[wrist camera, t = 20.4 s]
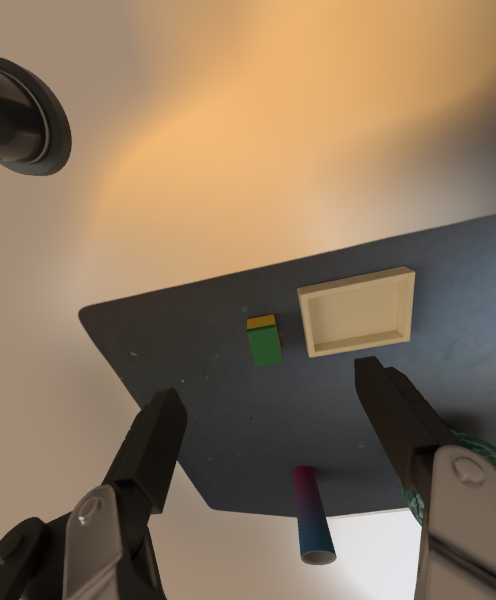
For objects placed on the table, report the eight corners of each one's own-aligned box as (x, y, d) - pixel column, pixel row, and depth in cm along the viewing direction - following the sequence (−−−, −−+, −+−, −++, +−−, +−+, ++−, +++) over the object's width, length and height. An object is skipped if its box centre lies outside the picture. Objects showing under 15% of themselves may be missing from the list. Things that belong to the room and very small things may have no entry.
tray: (306, 348, 41) (309, 357, 39) (296, 288, 36) (300, 295, 33) (400, 331, 39) (409, 341, 37) (404, 266, 34) (415, 271, 32)
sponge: (280, 347, 41) (283, 362, 37) (256, 351, 41) (256, 367, 38) (273, 314, 38) (275, 327, 34) (247, 319, 38) (246, 332, 35)
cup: (294, 462, 56) (307, 549, 43) (320, 466, 56) (341, 553, 43) (286, 477, 59) (296, 563, 45) (312, 481, 59) (329, 566, 46)
